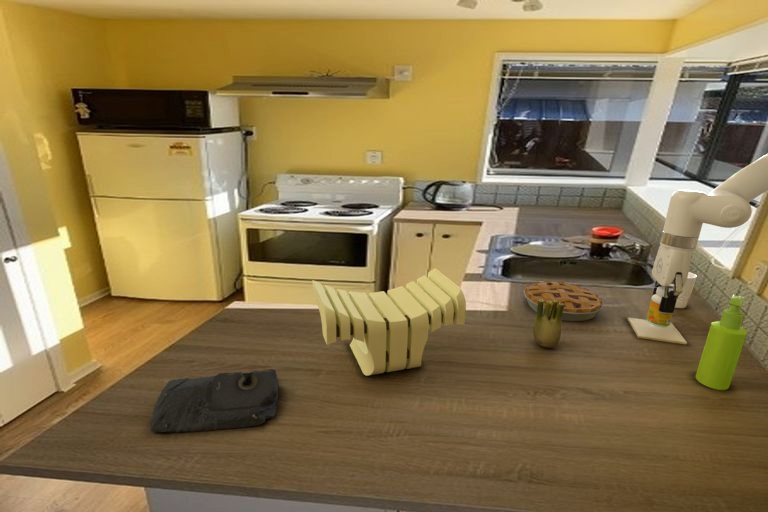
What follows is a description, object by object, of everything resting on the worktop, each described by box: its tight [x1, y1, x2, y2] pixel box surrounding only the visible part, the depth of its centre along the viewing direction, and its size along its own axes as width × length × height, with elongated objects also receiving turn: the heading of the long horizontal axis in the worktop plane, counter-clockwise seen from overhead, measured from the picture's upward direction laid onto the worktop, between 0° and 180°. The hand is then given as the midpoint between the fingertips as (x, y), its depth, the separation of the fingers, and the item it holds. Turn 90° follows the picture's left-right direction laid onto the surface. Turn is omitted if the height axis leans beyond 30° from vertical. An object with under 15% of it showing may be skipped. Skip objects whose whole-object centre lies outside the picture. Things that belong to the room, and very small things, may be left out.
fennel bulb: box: [533, 300, 565, 349], centre depth 103 cm, size 6×5×12 cm
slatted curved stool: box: [311, 267, 467, 377], centre depth 94 cm, size 30×16×18 cm, turn 108°
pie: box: [523, 280, 604, 322], centre depth 125 cm, size 22×22×5 cm
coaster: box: [627, 317, 688, 345], centre depth 113 cm, size 11×11×1 cm
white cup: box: [669, 271, 698, 309], centre depth 129 cm, size 8×8×10 cm
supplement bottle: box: [645, 287, 674, 327], centre depth 111 cm, size 5×5×10 cm
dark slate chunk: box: [149, 368, 279, 434], centre depth 80 cm, size 15×22×5 cm
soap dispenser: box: [695, 294, 748, 391], centre depth 88 cm, size 6×7×20 cm
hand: (661, 306), depth 111 cm, fingers closed on supplement bottle, 5 cm apart
